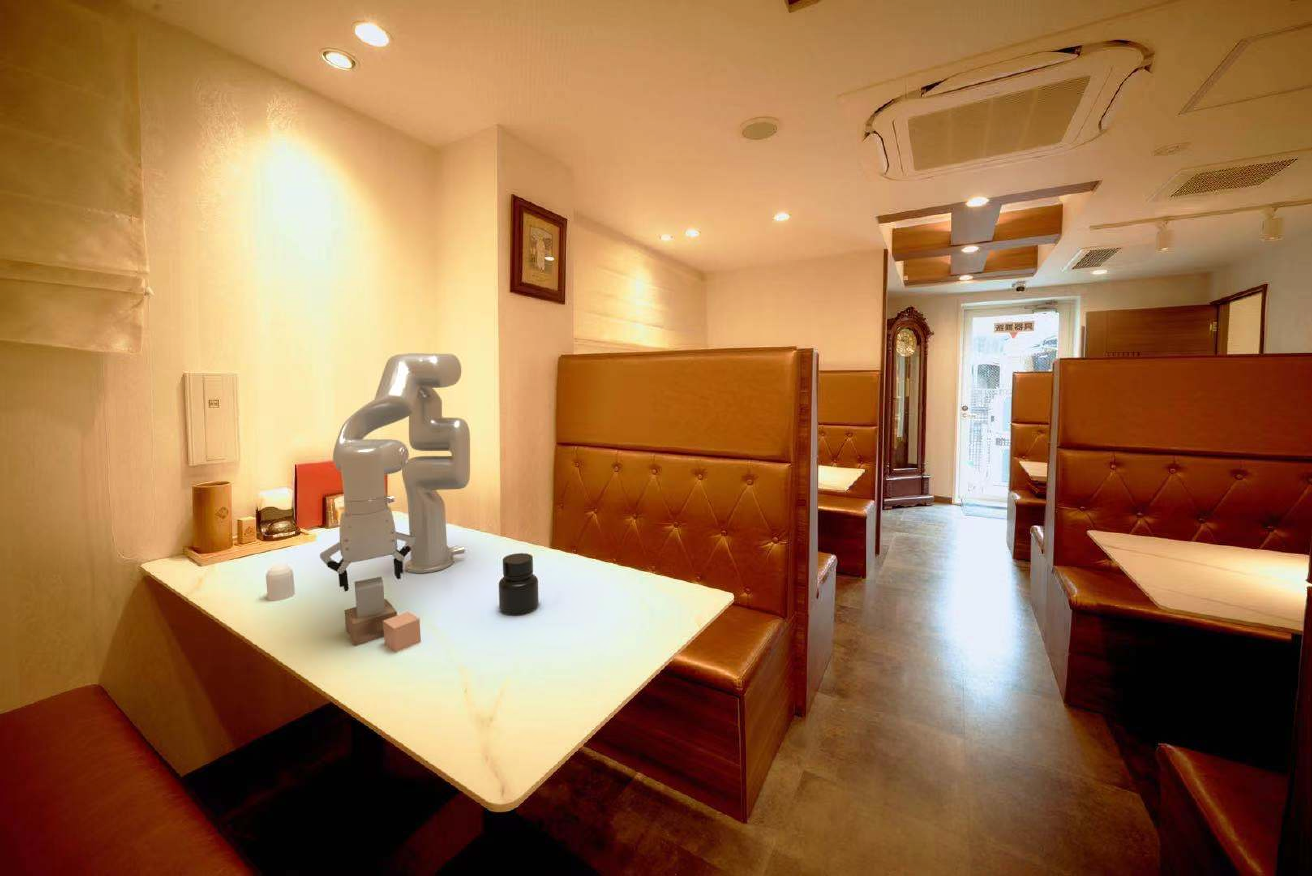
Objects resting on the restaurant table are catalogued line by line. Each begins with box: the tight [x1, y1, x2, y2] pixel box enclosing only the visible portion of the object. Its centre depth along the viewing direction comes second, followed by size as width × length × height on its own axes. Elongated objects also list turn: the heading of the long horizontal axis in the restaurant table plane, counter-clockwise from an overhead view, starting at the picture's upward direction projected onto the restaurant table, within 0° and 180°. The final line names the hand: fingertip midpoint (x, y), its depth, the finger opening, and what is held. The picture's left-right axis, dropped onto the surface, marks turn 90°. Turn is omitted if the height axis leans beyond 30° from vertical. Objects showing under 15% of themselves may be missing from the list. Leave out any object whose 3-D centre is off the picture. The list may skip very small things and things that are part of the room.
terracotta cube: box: [383, 611, 422, 653], centre depth 100 cm, size 5×5×5 cm
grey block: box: [353, 576, 385, 618], centre depth 103 cm, size 5×5×6 cm
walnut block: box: [344, 598, 398, 647], centre depth 104 cm, size 8×8×5 cm
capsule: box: [265, 563, 296, 602], centre depth 120 cm, size 5×5×8 cm
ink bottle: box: [498, 552, 540, 616], centre depth 115 cm, size 10×9×12 cm
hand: (372, 582), depth 104 cm, fingers open, 9 cm apart
